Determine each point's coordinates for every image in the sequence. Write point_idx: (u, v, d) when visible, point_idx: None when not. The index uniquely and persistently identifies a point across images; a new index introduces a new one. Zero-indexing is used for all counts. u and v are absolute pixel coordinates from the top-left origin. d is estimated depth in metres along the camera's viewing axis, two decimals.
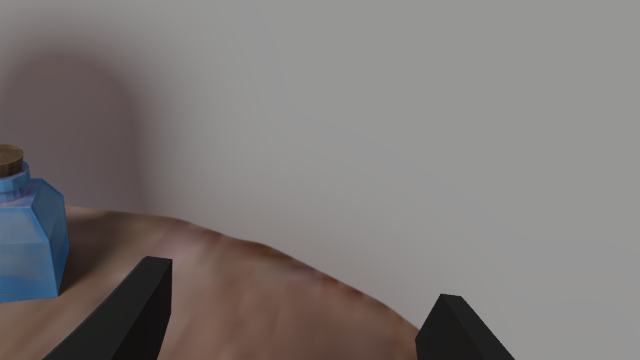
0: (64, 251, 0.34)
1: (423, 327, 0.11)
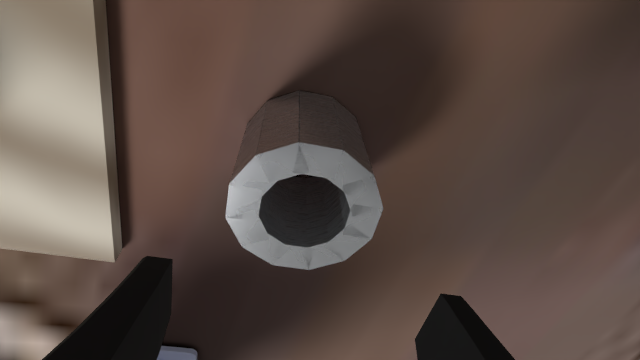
0: None
1: (423, 327, 0.11)
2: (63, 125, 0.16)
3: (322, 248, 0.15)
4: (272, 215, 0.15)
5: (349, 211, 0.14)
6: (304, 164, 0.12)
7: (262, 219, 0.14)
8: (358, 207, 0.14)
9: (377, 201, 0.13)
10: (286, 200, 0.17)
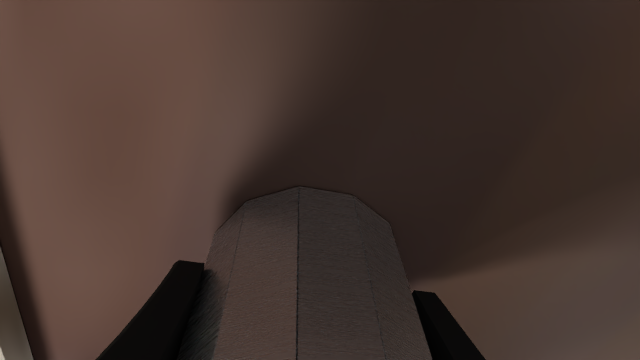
0: None
1: None
2: None
3: None
4: None
5: None
6: None
7: None
8: None
9: None
10: None
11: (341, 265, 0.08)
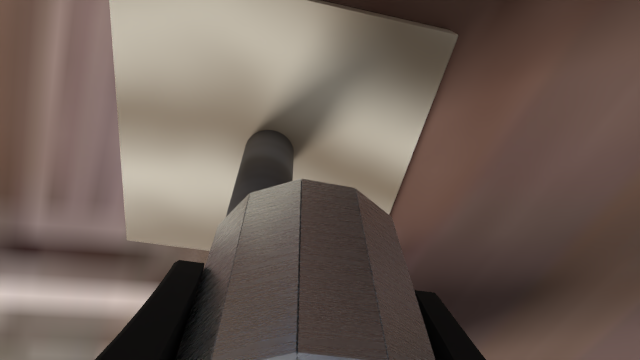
0: None
1: None
2: (380, 148, 0.17)
3: None
4: None
5: None
6: None
7: None
8: None
9: None
10: None
11: (342, 254, 0.08)
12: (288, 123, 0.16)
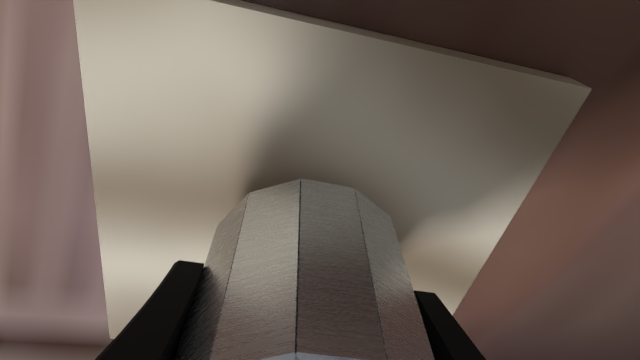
0: None
1: None
2: (456, 233, 0.13)
3: None
4: None
5: None
6: None
7: None
8: None
9: None
10: None
11: (341, 254, 0.08)
12: None
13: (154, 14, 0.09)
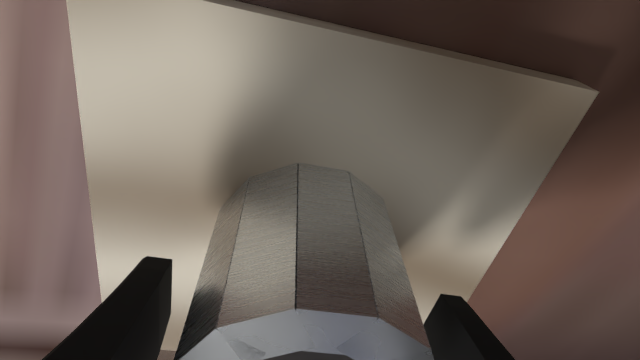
0: None
1: None
2: (459, 238, 0.12)
3: None
4: None
5: None
6: (306, 338, 0.07)
7: None
8: None
9: None
10: None
11: (336, 228, 0.08)
12: None
13: (149, 15, 0.08)
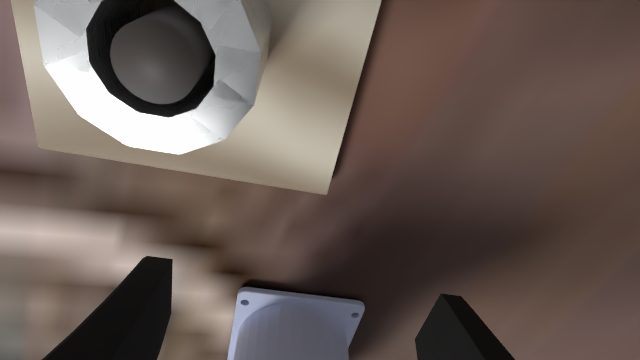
0: None
1: (423, 327, 0.11)
2: (332, 26, 0.14)
3: (189, 120, 0.11)
4: None
5: (216, 58, 0.10)
6: None
7: (100, 72, 0.10)
8: (226, 50, 0.10)
9: (250, 40, 0.10)
10: None
11: None
12: None
13: None
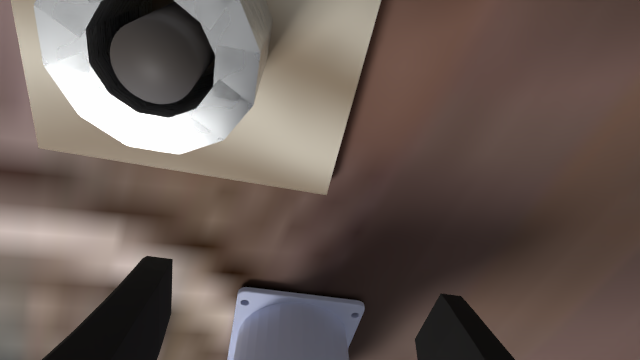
0: None
1: (423, 327, 0.11)
2: (331, 26, 0.14)
3: (189, 120, 0.11)
4: None
5: (215, 58, 0.10)
6: None
7: (100, 73, 0.10)
8: (225, 50, 0.10)
9: (250, 40, 0.10)
10: None
11: None
12: None
13: None
